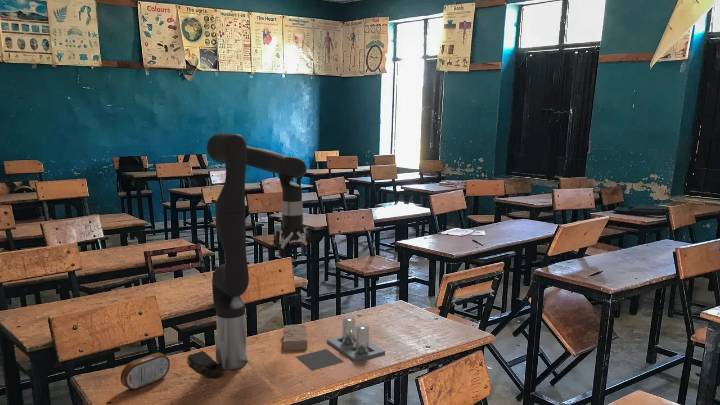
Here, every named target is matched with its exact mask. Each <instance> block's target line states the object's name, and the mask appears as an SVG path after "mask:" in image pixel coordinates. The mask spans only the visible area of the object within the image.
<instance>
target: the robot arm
mask: <svg viewBox="0 0 720 405" xmlns="http://www.w3.org/2000/svg"><path fill="white" fill-rule="evenodd" d="M206 152H207V154H208V156H209V158H211V160H212V161H215V162H216V163H220V164H221V163H222V164H225V180H224V183H223V186H222V188H221V191H220V192H219V195H218V197H217V199H216V202H215V207H214V211H215V212H214V214H215V218H214V219H215V228H216V232H217V234H218V238H219V241H220V243H221V246H222V250H223V253H224V263H223V264H219V266H217V267H216V268H215V270H214V272H213V273H212V278H211V280H212V281H211V287H212V288H211V289H212V290H211V291H212V300H213V306H214V308H215V309H214V310H215V311H216V312H215V314H216V335H215V336H214V341H215V346H214V347H215V362H216V363H217V364H218V365H220V366H222V367H223V370H222V371H224V370H236V369H240V368H243V367H245V366H246V364H247V363H248V361H247V360H248V358H247V357H248V356H247V353H248V352H247V322H246V321H247V319H246V314H247V313H246V304H245V303H244V302H243V300H242V298H241V296H242V295H243V294H245V292H246V291H247V289H248V286H249V282H250V281H249V280H250V273H249V266H248V258H247V243H246V241H247V240H246V239H247V238H246V202H245V201H246V173H247V172H246V171H247V169H246V168H247V166H248V167H252V168H255V169H258V170H262V171H265V172H269V173H272V174H273V173H274V174H278V179H279V182H280V187H281V189H282V205H281V223H282V224H281V225H282V226H281V227H282V228H281V230H277V229H274V230H273V247H276V248H278V257H280V258H281V259H285V246H286V245H287V244H288V243H289V242H292V241H293V242H294V241H299V242H300V244H301V245H300V252H301V253H300V254H301V256H306V254H307V252H308V251H307V250H308V244H311V243H312V241H313V240H312V229H311V227H309V226H305V227H303V225H304V213H303V212H304V208H303V206H304V205H303V188H302V185H300V184H298V183H296V182H295V180H294V179H300V178H302V177H304V176H305V175H306V173H307V170H308V168H307V164H306V163H305V161H304V160H303V159H301V158H299V157H295V156H290V155H284V154H281V153H278V152H277V151H276V152H275V151H272V150H270V149H264V148H258V147H253V146H248V144H247V141H246V139H245V138H244V136H242V135H241V134H238V133H225V132H224V133H217V134H214V135H212V136H211V137H210V138H209V139H208V140H207V142H206ZM303 233H305V238H304V236H303ZM281 235H282V238H281V239H280V237H281Z"/></svg>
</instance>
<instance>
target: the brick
mask: <svg viewBox="0 0 720 405" xmlns="http://www.w3.org/2000/svg"><path fill="white" fill-rule="evenodd" d="M282 342H283V343H282V344H283V351H299V350H300V351H301V350H308V335H307V327H306V325H305V324H302V323H301V324H300V323H299V324H289V325H284V326H283V339H282Z"/></svg>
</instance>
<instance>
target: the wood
mask: <svg viewBox="0 0 720 405" xmlns="http://www.w3.org/2000/svg"><path fill="white" fill-rule="evenodd" d="M187 357H188V360H189V363H188V366H189V368H191V369H192V370H193V371H194V372H196V373H199V374H201V375H202V376H204V377H205V378H208V379H217V378H220V377H221V375H222V371H224V370H223V367H222V366H220V365H218V364H217V363H216V360H214V359H213V358H212V357H211V356H210V355H209V354H207V352H206V351H204V350H201V351H198V352H196V353H191V354H189V355H187Z"/></svg>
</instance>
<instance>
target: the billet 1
mask: <svg viewBox="0 0 720 405" xmlns="http://www.w3.org/2000/svg"><path fill="white" fill-rule="evenodd" d="M341 322H342V325H341V331H342V332H341V333H342V334H341V336H342V341H341V343H342V344H344V345H345V346H347V345H351V344H355V343H356V341H355V327H356V318H355V317H353V316H346V317H343V318H342V320H341Z"/></svg>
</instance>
